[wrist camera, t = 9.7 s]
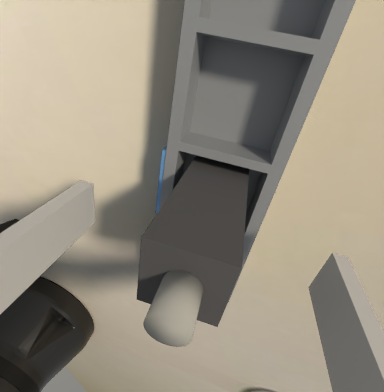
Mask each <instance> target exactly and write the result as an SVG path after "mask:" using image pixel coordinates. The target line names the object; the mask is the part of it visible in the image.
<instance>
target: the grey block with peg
mask: <svg viewBox="0 0 384 392" xmlns="http://www.w3.org/2000/svg"><path fill="white" fill-rule="evenodd" d="M248 179H249V169H248V168H244V167H240V166H236V165H232V164H229V163H225V162H221V161H217V160H213V159H209V158H205V157H201V156H198V155H196V156H195V158H194V159H193V161H192V162H191V164H190V165H189V167H188V168H187V170H186V171H185V173H184V174H183V176H182V177H181V179H180V180H179V182H178V183H177V185H176V186H175V188H174V189H173V191H172V192H171V194H170V195H169V197H168V198H167V200H166V201H165V203H164V204H163V206H162V207H161V209H160V210H159V212H158V213H157V215H156V216H155V218H154V219H153V221H152V222H151V224H150V225H149V227H148V228H147V230H146V231H145V233H144V234H143V236H142V239H141V251H140V264H139V276H138V289H137V300H140V301H143V302H146V303H149V304H151V306H150V308H149V311H148V313H147V315H146V318H145V320H144V328H145V330H146V331H147V333H148V334H149V335H150V336H151V337H152V338H154V339H155V340H157V341H159V342H161V343H163V344H166V345H169V346H175V347H181V346H185V345H188V344H189V343H190V342H191V340H192V337H193V333H194V328H195V324H196V320H199V321H202V322H205V323H208V324H210V325H213V326H216V327H218V324H219V322H220V320H221V317H222V315H223V312H224V310H225V308H226V305H227V303H228V301H229V298H230V296H231V293H232V291H233V289H234V286H235V284H236V281H237V279H238V277H239V274H240V272H241V270H242V262H243V248H244V234H245V221H246V207H247V193H248Z"/></svg>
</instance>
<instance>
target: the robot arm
mask: <svg viewBox="0 0 384 392" xmlns="http://www.w3.org/2000/svg"><path fill="white" fill-rule="evenodd" d="M94 223H95V205H94V187H93V183H89V182H86V181H82V180H80V181H79V182H77V183H76V184H74V185H73V186H71V187H70V188H68V189H67V190H65V191H64V192H62V193H61V194H59V195H58V196H56V197H55V198H53V199H52V200H50V201H49V202H47V203H46V204H44V205H42V206H41V207H39V208H38V209H36V210H35V211H33V212H32V213H30V214H29V215H27V216H26V217H24V218H23V219H21V220H17V219H14V220H11V221H8V222H6V223H3V224H1V225H0V392H41V391H42V389H43V388H44V387H45V385H46V384H47V383H48V382H49V381H50V380H51V379H52V378H53V377H54V376H55V375H56V374H57V373H58V372H59V371H60V370H61V369H62V368H63V367H65V366H66V365H67V364H68V363H69V362H70V361H71V360H72V359H73V358H74V357H75V356H76V355H77V354H78V353H79V352H80V351H81V350H82V349H83V348H84V347H85V345H86V344H87V342H88V340H89V339H90V337H91V335H92V334H93V331H94V324H93V320H92V318H91V316H90V314H89V313H88V311H87V310H86V309H85V307H84V306H83V305H82V304H81V303H80V302H79V301H78V300H77V299H76V298H75V297H74V296H72V295H71V294H70V293H68V292H67V291H66V290H64V289H63V288H61V287H59V286H58V285H56V284H54V283H52V282H50V281H48V280H45V279H43V278H40V277H39V276H40V275H41V274H42V273H43V272H45V271H46V270H47V269H48V268H49V267H50V266H51V265H52V264H53V263H54V262H55V261H56V260H57V259H58V258H59V257H60V256H61V255H62V254H63V253H64V252H65V251H66V250H67V249H68V248H69V247H70V246H71V245H72V244H73V243H74V242H75V241H76V240H77V239H78V238H79V237H80V236H81V235H82V234H83V233H85V232H86V231H87V230H88V229H89V228H90V227H91V226H92V225H93V224H94ZM309 291H310V296H311V300H312V304H313V309H314V313H315V317H316V322H317V326H318V330H319V334H320V339H321V343H322V347H323V352H324V356H325V360H326V364H327V369H328V373H329V377H330V382H331V386H332V390H333V392H384V331H383V329H382V327H381V325H380V323H379V320H378V318H377V316H376V314H375V312H374V310H373V308H372V306H371V304H370V302H369V299H368V297H367V295H366V293H365V291H364V289H363V287H362V285H361V283H360V281H359V278H358V276H357V274H356V272H355V270H354V268H353V266H352V264H351V262H350V260H349V257H346V256H343V255H339V254H336V253H332V254H331V256H330V257H329V258H328V260H327V261H326V263H325V264H324V266H323V267H322V269H321V270H320V272H319V273H318V275H317V276H316V277H315V279H314V280H313V282H312V283H311V285H310V286H309Z"/></svg>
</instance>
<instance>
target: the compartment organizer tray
mask: <svg viewBox="0 0 384 392" xmlns="http://www.w3.org/2000/svg"><path fill="white" fill-rule="evenodd" d="M355 1H356V0H185V3H184V11H183V19H182V27H181V35H180V44H179V52H178V60H177V68H176V76H175V84H174V92H173V101H172V109H171V117H170V125H169V133H168V141H167V146H166V147H165V148H164V149H163V150H162V158H161V167H160V176H159V185H158V194H157V203H156V211H155V213H158V212H159V210H160V209H161V207H162V206H163V204H164V203H165V201H166V200H167V198H168V197H169V195H170V194H171V192H172V191H173V189H174V188H175V186H176V185H177V183H178V182H179V180H180V179H181V177H182V176H183V174H184V173H185V171H186V170H187V168H188V167H189V165H190V164H191V162H192V161H193V159H194V158H195V156H196V155H198V156H201V157H205V158H209V159H213V160H217V161H221V162H225V163H229V164H232V165H236V166H240V167H244V168H248V169H249V179H248V193H247V207H246V221H245V234H244V248H243V262H242V269H243V266H244V264H245V262H246V259H247V257H248V255H249V252H250V250H251V247H252V245H253V243H254V240H255V238H256V236H257V233H258V231H259V228H260V226H261V224H262V221H263V219H264V217H265V214H266V212H267V209H268V207H269V205H270V202H271V200H272V198H273V195H274V193H275V191H276V188H277V186H278V183H279V181H280V179H281V176H282V174H283V172H284V169H285V167H286V164H287V162H288V160H289V157H290V155H291V153H292V150H293V148H294V145H295V143H296V141H297V138H298V136H299V134H300V131H301V129H302V127H303V124H304V122H305V119H306V117H307V115H308V112H309V110H310V108H311V105H312V103H313V100H314V98H315V96H316V93H317V91H318V89H319V86H320V84H321V81H322V79H323V77H324V74H325V72H326V70H327V67H328V65H329V62H330V60H331V58H332V55H333V53H334V51H335V48H336V46H337V44H338V41H339V39H340V36H341V34H342V32H343V29H344V27H345V25H346V22H347V20H348V17H349V15H350V13H351V10H352V8H353V6H354V3H355ZM241 271H242V270H241ZM240 274H241V272H240ZM240 274H239V276H240ZM238 278H239V277H238ZM237 281H238V279H237ZM237 281H236V283H237ZM235 285H236V284H235ZM234 288H235V286H234ZM233 290H234V289H233ZM232 292H233V291H232ZM231 295H232V293H231ZM230 297H231V296H230ZM229 300H230V298H229ZM228 302H229V301H228Z"/></svg>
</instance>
